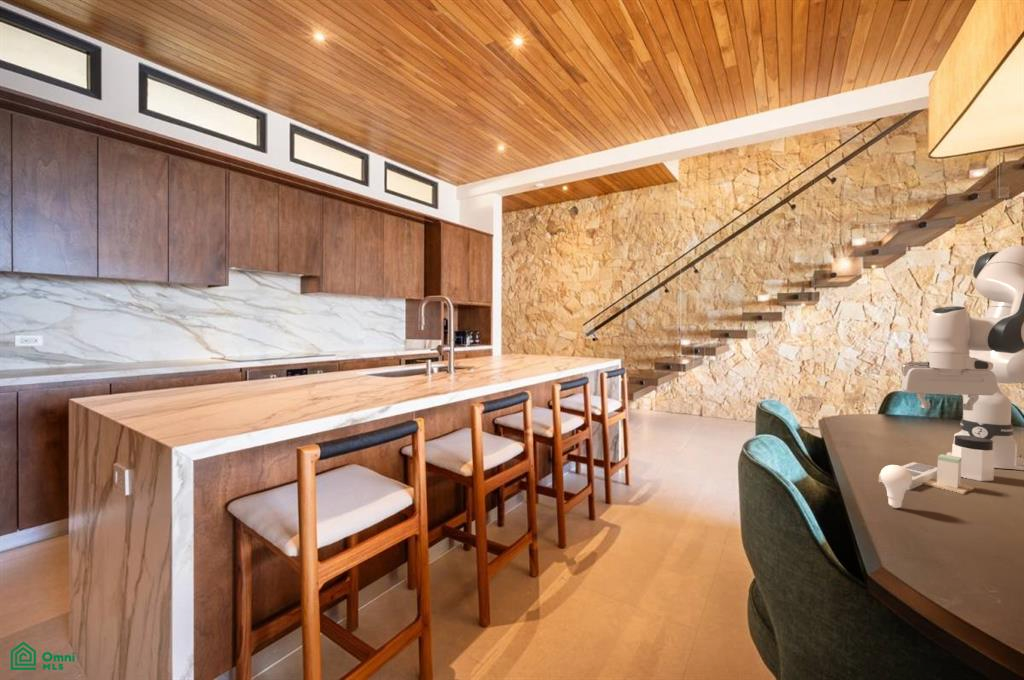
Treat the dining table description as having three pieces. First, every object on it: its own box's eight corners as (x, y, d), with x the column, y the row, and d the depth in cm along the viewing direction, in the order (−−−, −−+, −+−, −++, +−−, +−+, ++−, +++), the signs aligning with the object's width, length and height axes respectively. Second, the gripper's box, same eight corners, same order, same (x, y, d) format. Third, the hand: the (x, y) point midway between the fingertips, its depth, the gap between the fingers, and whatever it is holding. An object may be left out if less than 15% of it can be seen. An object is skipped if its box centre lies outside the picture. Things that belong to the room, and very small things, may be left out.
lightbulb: (880, 501, 114) (881, 460, 113) (911, 508, 109) (913, 465, 109) (877, 507, 109) (879, 465, 109) (910, 515, 105) (912, 471, 105)
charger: (940, 480, 128) (941, 454, 127) (960, 484, 124) (961, 457, 124) (936, 483, 125) (937, 456, 125) (957, 488, 122) (958, 460, 122)
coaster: (932, 478, 131) (932, 476, 131) (974, 488, 123) (974, 486, 123) (920, 483, 127) (920, 481, 127) (963, 494, 119) (963, 492, 119)
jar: (994, 477, 132) (995, 439, 132) (992, 483, 127) (994, 443, 127) (952, 470, 139) (954, 433, 139) (949, 475, 134) (951, 437, 134)
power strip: (919, 467, 142) (919, 458, 142) (948, 473, 136) (948, 465, 136) (878, 482, 128) (878, 472, 128) (909, 490, 122) (909, 480, 122)
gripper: (907, 362, 126) (906, 409, 127) (1001, 363, 119) (1000, 413, 119) (897, 360, 132) (896, 405, 133) (986, 361, 125) (985, 409, 125)
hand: (946, 409), depth 126 cm, fingers open, 8 cm apart
